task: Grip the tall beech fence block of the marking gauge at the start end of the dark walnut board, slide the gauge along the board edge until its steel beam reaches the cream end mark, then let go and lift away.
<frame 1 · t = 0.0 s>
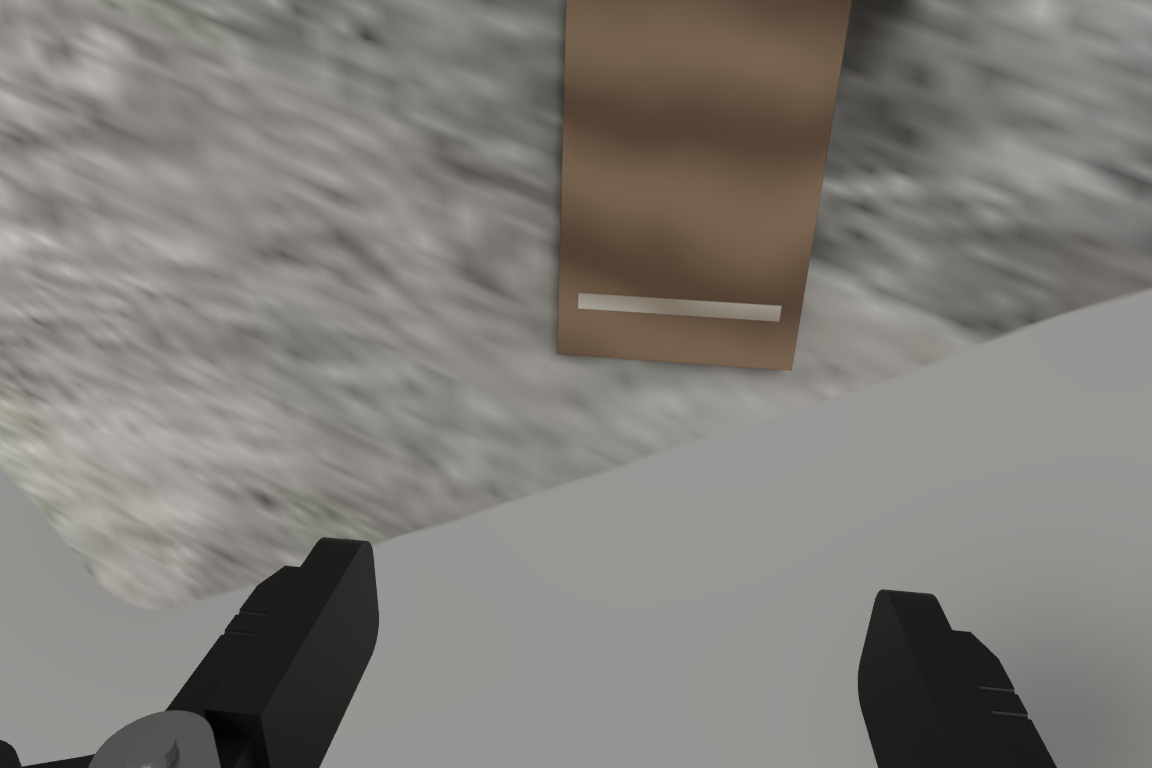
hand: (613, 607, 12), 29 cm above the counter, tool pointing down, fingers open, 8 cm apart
walnut board: (694, 112, 37), on the counter
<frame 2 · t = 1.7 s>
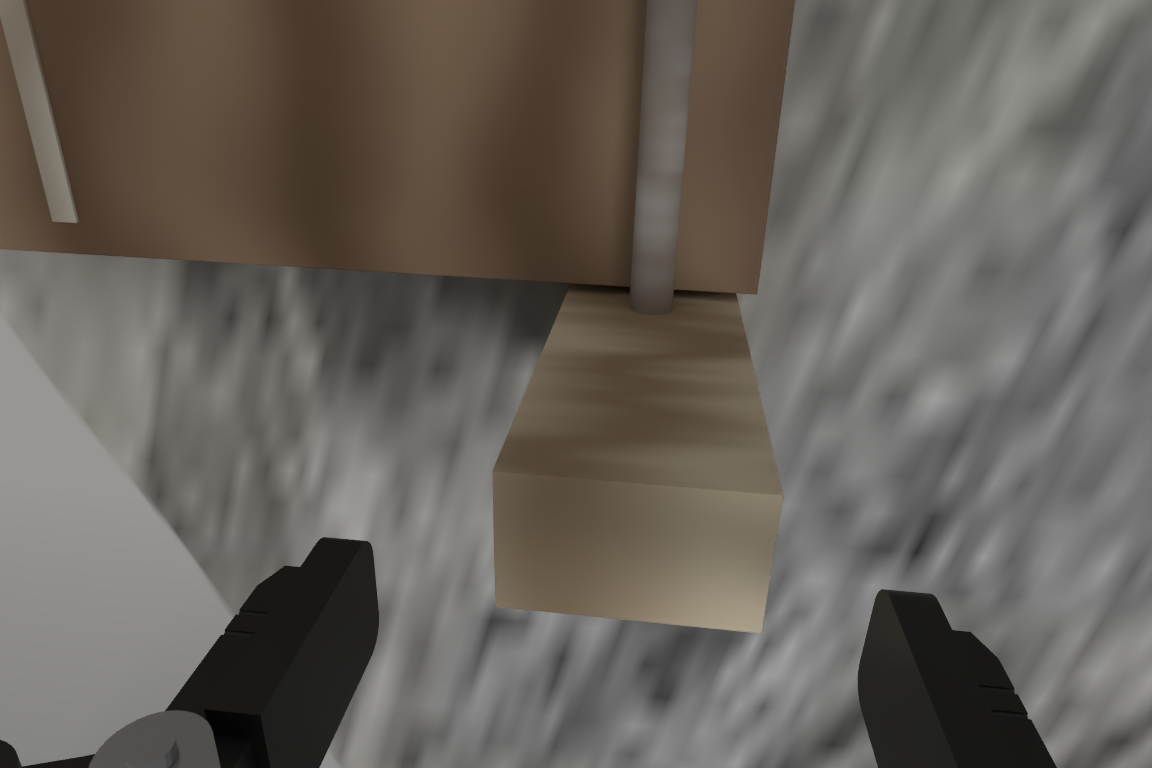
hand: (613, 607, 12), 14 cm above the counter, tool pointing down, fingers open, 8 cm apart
walnut board: (359, 52, 23), on the counter
marking gauge: (656, 214, 17), point 6 cm above the counter, slide at 0.0 cm
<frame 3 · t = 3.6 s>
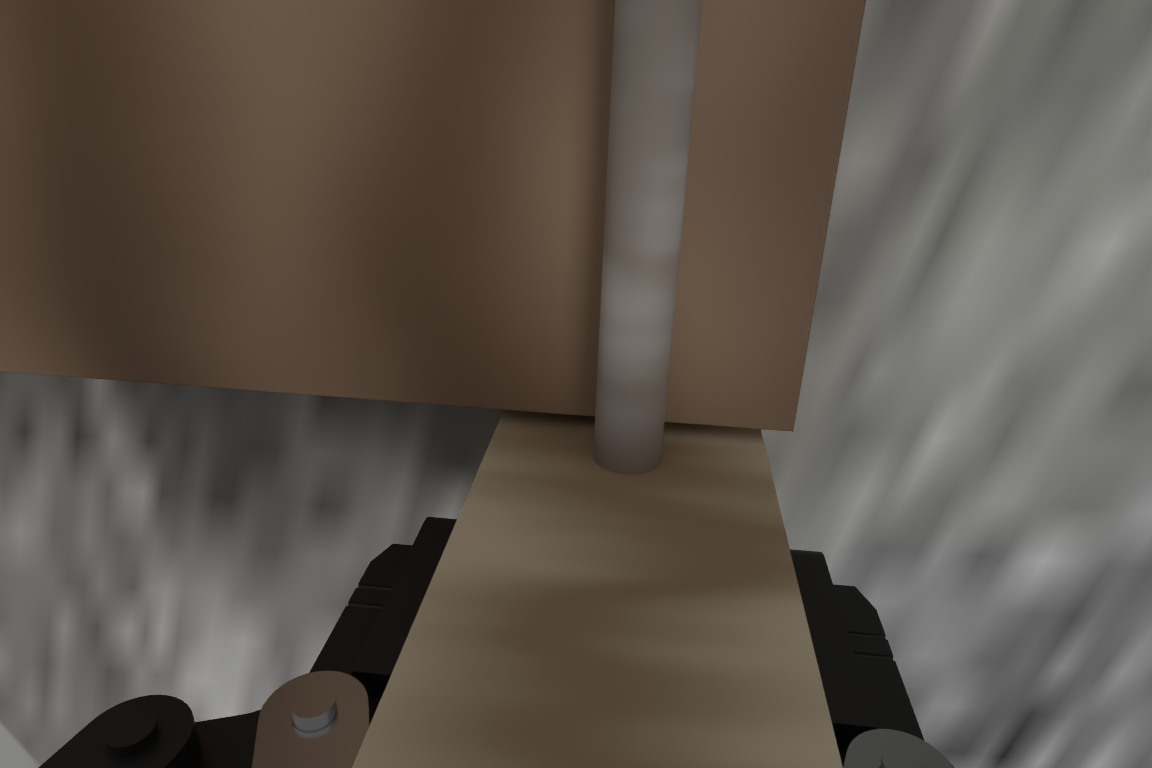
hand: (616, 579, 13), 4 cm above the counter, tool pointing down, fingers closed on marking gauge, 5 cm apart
walnut board: (172, 48, 14), on the counter
marking gauge: (631, 354, 9), point 6 cm above the counter, slide at 0.0 cm, touching gripper
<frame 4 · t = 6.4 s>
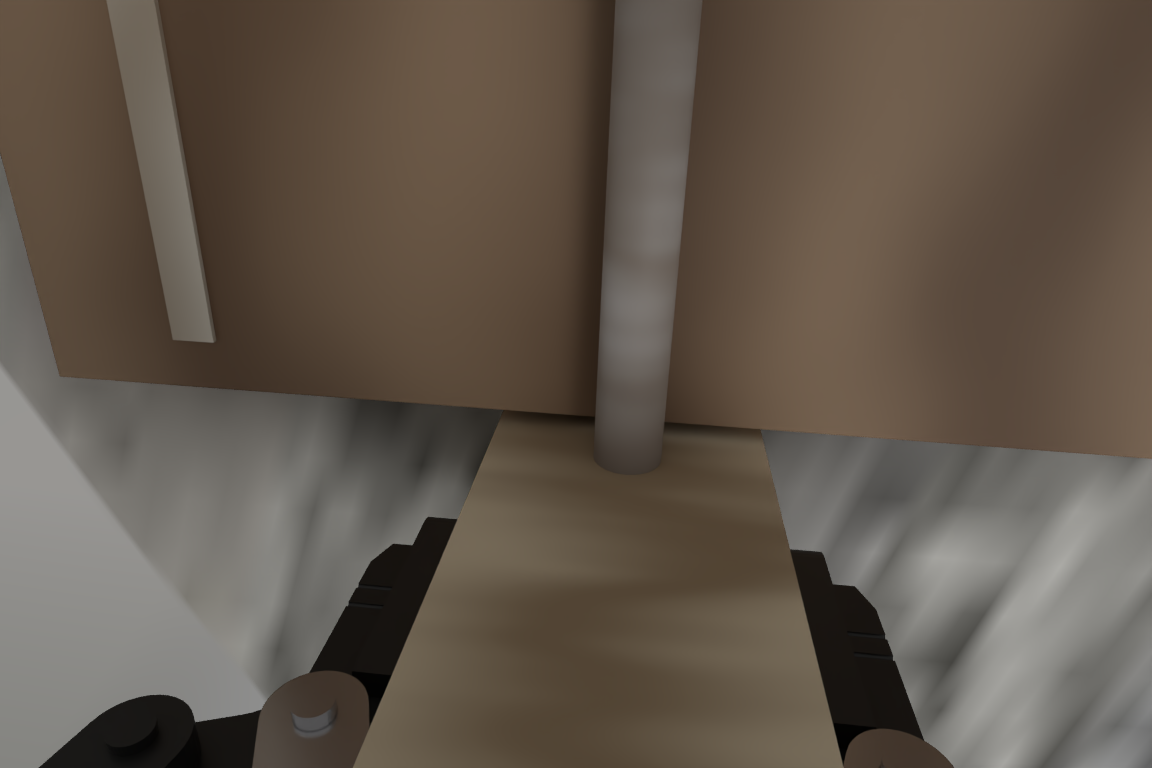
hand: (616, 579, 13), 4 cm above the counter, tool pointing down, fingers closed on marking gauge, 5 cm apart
walnut board: (695, 69, 14), on the counter
marking gauge: (632, 354, 9), point 6 cm above the counter, slide at 9.7 cm, touching gripper
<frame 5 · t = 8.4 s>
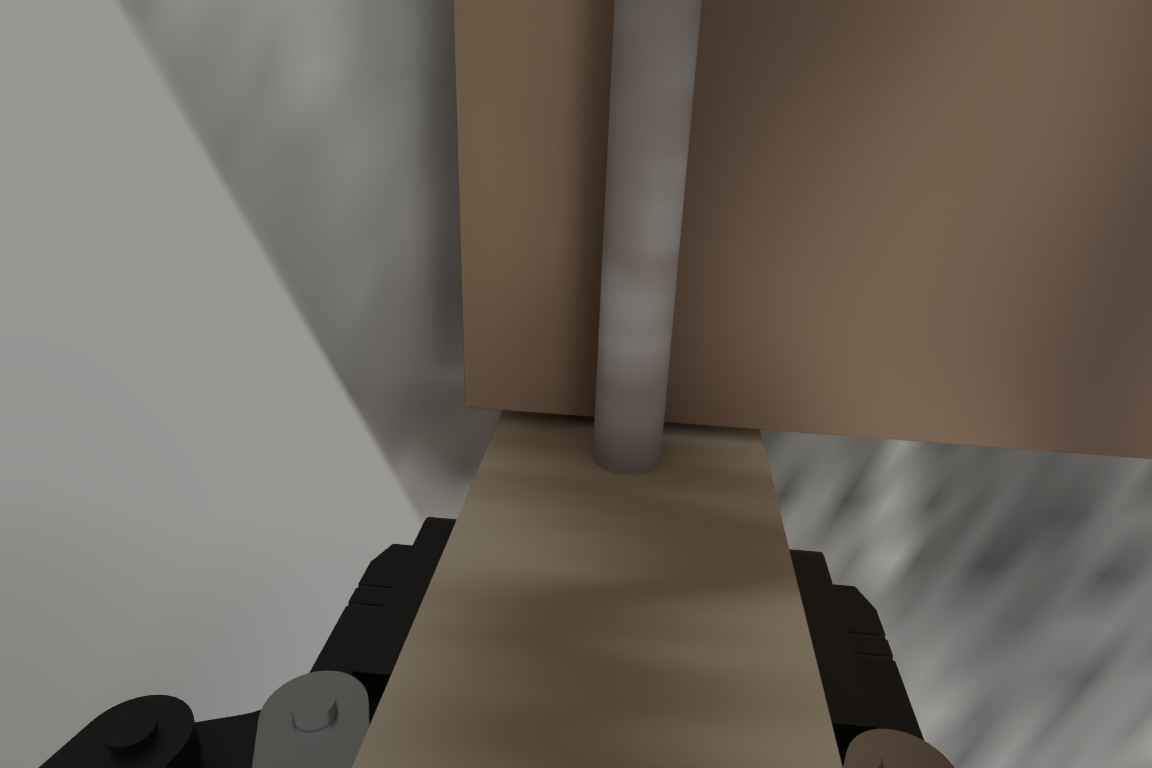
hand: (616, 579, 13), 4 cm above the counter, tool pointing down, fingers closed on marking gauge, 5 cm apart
marking gauge: (631, 354, 9), point 6 cm above the counter, slide at 17.9 cm, touching gripper
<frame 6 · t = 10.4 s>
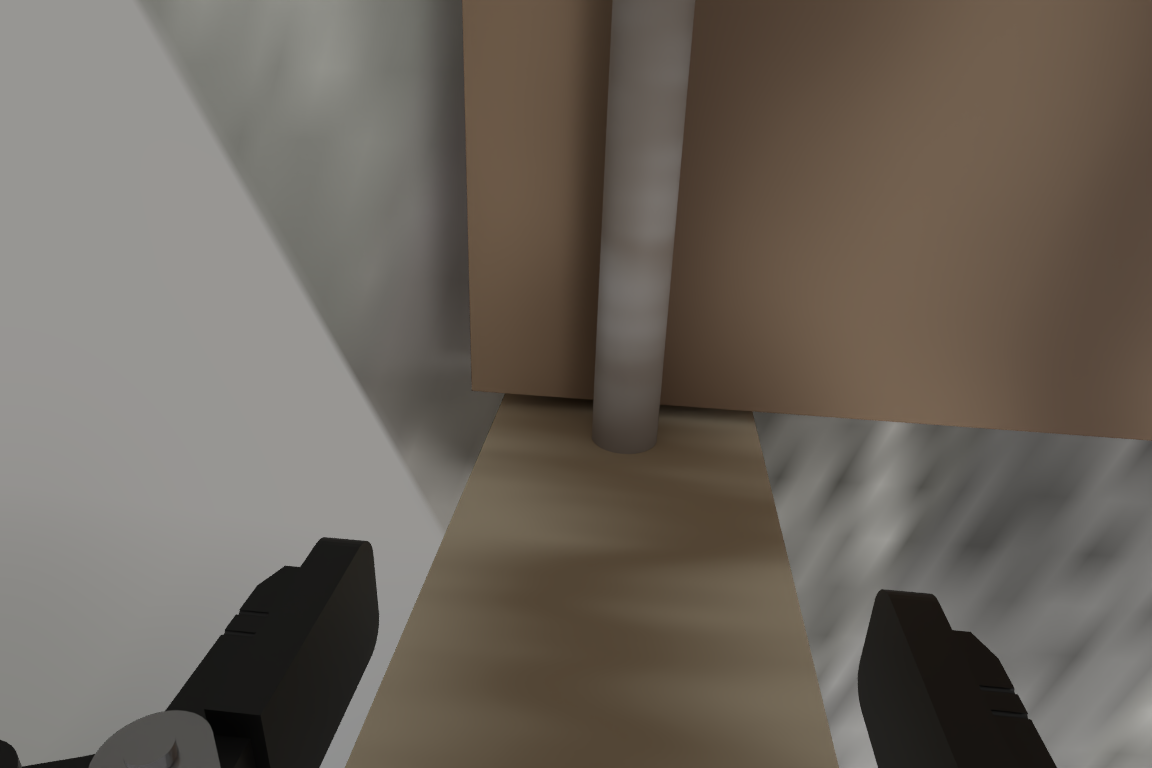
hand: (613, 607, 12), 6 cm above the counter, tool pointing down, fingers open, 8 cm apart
marking gauge: (628, 332, 10), point 6 cm above the counter, slide at 17.9 cm
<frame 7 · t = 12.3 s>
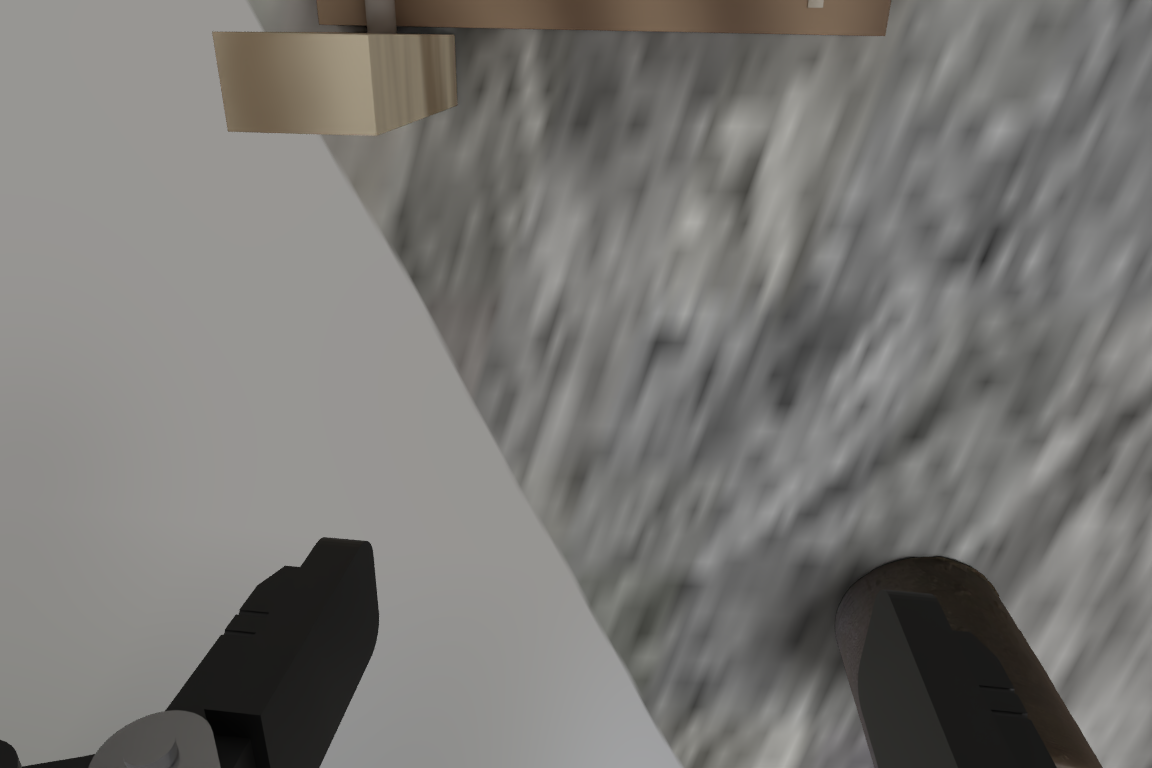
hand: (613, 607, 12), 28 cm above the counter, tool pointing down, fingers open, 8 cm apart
pillar candle: (913, 620, 47), on the counter
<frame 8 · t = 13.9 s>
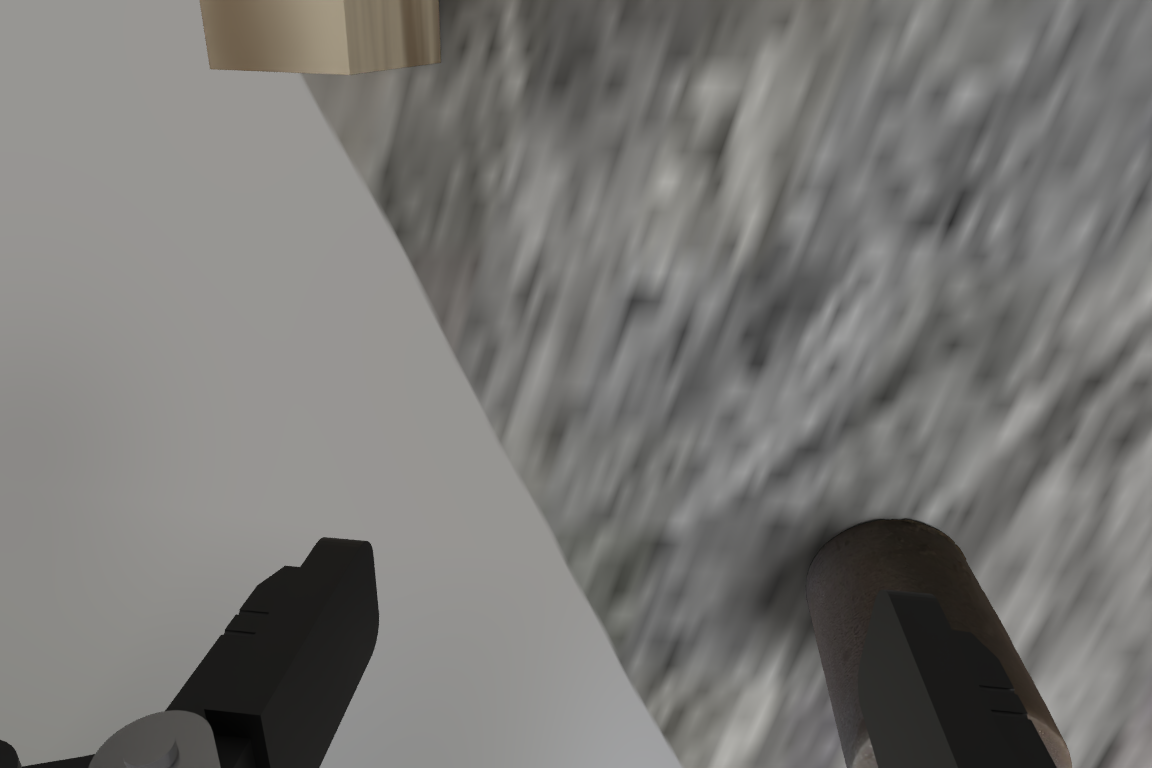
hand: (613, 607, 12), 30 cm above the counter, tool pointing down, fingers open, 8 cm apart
pillar candle: (882, 582, 48), on the counter
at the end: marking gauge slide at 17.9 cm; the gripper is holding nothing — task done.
